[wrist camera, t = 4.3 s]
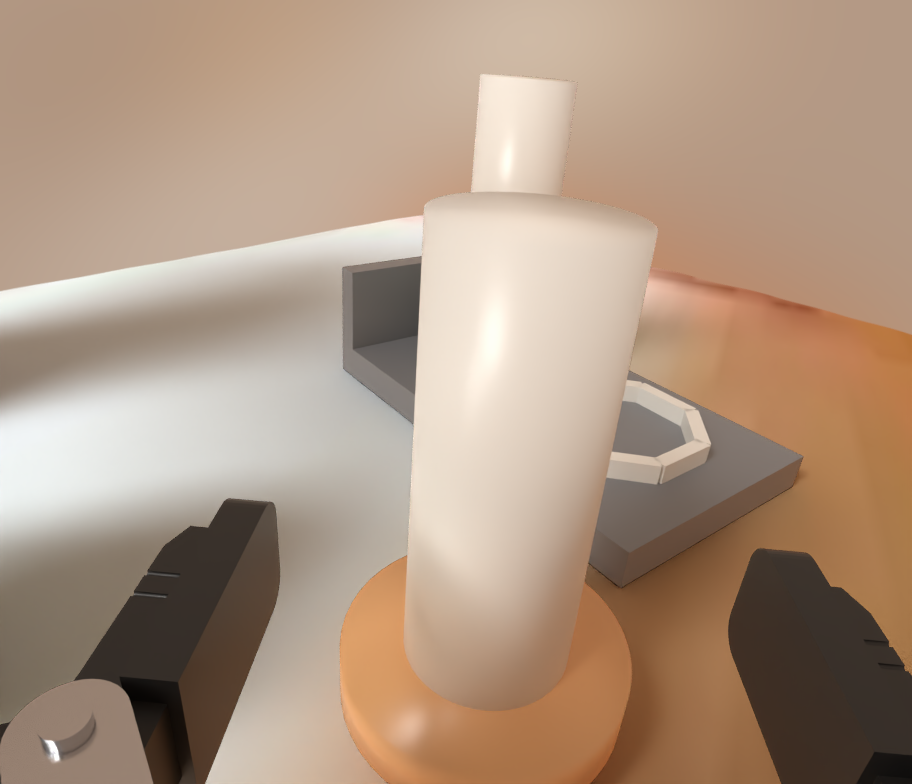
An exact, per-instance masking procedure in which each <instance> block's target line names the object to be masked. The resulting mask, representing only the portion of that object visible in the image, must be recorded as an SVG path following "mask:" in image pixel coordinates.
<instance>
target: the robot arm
mask: <svg viewBox="0 0 912 784" xmlns="http://www.w3.org/2000/svg"><path fill="white" fill-rule="evenodd" d="M279 583H280V563H279V548H278V533H277V519H276V509H275V505H274V504H273V503H272V502H264V501H253V500H242V499H231V498H228V499H226V500H225V501H224V502H223V504H222V505H221V507H220V509H219V510H218V512H217V514H216V515H215V517H214V519H213V520H212V522H211V524H210V525H209V527H208V528H206V527H195V526H190V527H189V528H187V529H186V530H185V531H183V532H182V533H181V534H179V535H178V536H177V537H175V538H174V539H173V540H171V541H170V542H169V543H167V544H166V545H165V546H164V547H163V548H162V550H161V551H160V553H159V554H158V556H157V557H156V559H155V560H154V562H153V563H152V565H151V566H150V568H149V569H148V573H147V576H146V575H144V577H143V578H142V580H141V581H140V583H139V584H138V586H137V587H136V589H135V590H134V595H133V596H130V598H129V599H128V601H127V602H126V604H125V605H124V607H123V608H122V610H121V611H120V613H119V614H118V616H117V617H116V619H115V620H114V622H113V623H112V625H111V626H110V628H109V629H108V631H107V632H106V634H105V635H104V637H103V638H102V640H101V641H100V643H99V645H98V646H97V648H96V649H95V651H94V652H93V654H92V655H91V657H90V658H89V660H88V661H87V663H86V664H85V666H84V667H83V669H82V670H81V672H80V673H79V675H78V676H77V677H76V678H75V680H74V681H72V682H69V683H66V684H62V685H60V686H57V687H55V688H53V689H51V690H49V691H47V692H45V693H43V694H42V695H40V696H38V697H37V698H35V699H34V700H33V701H31V702H30V703H29V704H27V705H26V706H25V707H24V708H23V709H22V710H21V711H20V712H19V713H18V714H17V715H16V716H15V717H14V719H13V720H12V721H11V722H9V723H5V724H1V725H0V784H205V782H206V780H207V777H208V775H209V772H210V769H211V767H212V764H213V762H214V759H215V757H216V754H217V752H218V749H219V747H220V744H221V742H222V739H223V737H224V734H225V732H226V729H227V727H228V724H229V721H230V719H231V716H232V714H233V711H234V709H235V706H236V704H237V701H238V699H239V696H240V694H241V691H242V689H243V686H244V684H245V681H246V679H247V676H248V673H249V671H250V668H251V666H252V663H253V661H254V658H255V656H256V653H257V651H258V648H259V646H260V643H261V641H262V638H263V636H264V633H265V631H266V628H267V625H268V623H269V620H270V618H271V615H272V613H273V610H274V607H275V604H276V600H277V596H278V590H279ZM728 636H729V645H730V650H731V653H732V656H733V659H734V662H735V664H736V667H737V669H738V672H739V675H740V677H741V680H742V682H743V685H744V688H745V690H746V693H747V695H748V698H749V701H750V703H751V706H752V708H753V711H754V714H755V716H756V719H757V721H758V724H759V727H760V729H761V732H762V734H763V737H764V739H765V742H766V745H767V747H768V750H769V752H770V755H771V758H772V760H773V763H774V765H775V768H776V771H777V773H778V776H779V778H780V781H781V784H912V676H911V674H910V673H909V672H908V671H905V669H904V666H905V665H904V664H903V662H902V661H901V659H900V658H899V656H898V655H897V653H896V652H895V650H894V648H893V647H889V641H888V639H887V638H886V636H885V635H884V633H883V632H882V630H881V629H880V627H879V626H878V624H877V623H876V621H875V620H874V618H873V616H872V615H871V613H869V612H868V611H867V610H866V609H865V608H864V607H863V606H862V605H860V604H859V603H858V602H857V601H856V600H855V599H854V598H852V597H851V596H850V595H849V594H848V593H847V592H846V591H845V590H843V589H842V588H839V587H831V586H830V585H829V583H828V582H827V580H826V578H825V577H824V575H823V573H822V572H821V570H820V569H819V567H818V565H817V564H816V562H815V560H814V559H813V558H812V557H811V556H810V555H809V554H807V553H804V552H794V551H783V550H772V549H757V550H756V551H755V552H754V553H753V555H752V557H751V559H750V562H749V564H748V567H747V570H746V573H745V575H744V578H743V581H742V584H741V587H740V589H739V592H738V595H737V598H736V601H735V603H734V606H733V609H732V612H731V615H730V619H729V627H728Z"/></svg>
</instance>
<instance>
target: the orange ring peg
mask: <svg viewBox="0 0 912 784" xmlns="http://www.w3.org/2000/svg"><path fill="white" fill-rule="evenodd" d="M657 234H658V228H657V227H656V225H655V224H654V223H652V222H651V221H650V220H648V219H646V218H644V217H642V216H640V215H638V214H635V213H633V212H630V211H627V210H624V209H620V208H617V207H614V206H610V205H606V204H601V203H597V202H592V201H587V200H581V199H576V198H570V197H562V196H555V195H546V194H536V193H522V192H469V193H458V194H452V195H446V196H442V197H439V198H435V199H433V200H431V201H429V202H428V203H427V204H426V205H425V207H424V222H423V242H422V263H421V284H420V305H419V325H418V346H417V367H416V387H415V408H414V429H413V449H412V470H411V491H410V511H409V532H408V553H407V556H405V557H403V558H401V559H399V560H397V561H395V562H393V563H391V564H390V565H388V566H387V567H385V568H384V569H382V570H381V571H380V572H378V573H377V574H376V575H375V576H374V577H372V578H371V579H370V580H369V581H368V582H367V583H366V584H365V586H364V587H363V588H362V589H361V590H360V591H359V593H358V594H357V596H356V597H355V599H354V600H353V602H352V604H351V606H350V608H349V610H348V612H347V614H346V616H345V620H344V623H343V627H342V631H341V639H340V691H341V705H342V710H343V715H344V719H345V722H346V724H347V727H348V730H349V733H350V735H351V737H352V739H353V741H354V743H355V744H356V746H357V748H358V750H359V751H360V753H361V754H362V755H363V757H364V758H365V760H366V761H367V762H368V764H369V765H370V766H371V767H372V768H373V769H374V770H375V771H376V772H377V773H378V774H379V775H380V776H381V777H382V778H383V779H384V780H385V781H386V782H387V783H389V784H590V783H591V782H592V781H593V780H594V779H595V778H596V777H597V775H598V774H599V773H600V771H601V770H602V769H603V767H604V766H605V765H606V763H607V761H608V759H609V757H610V755H611V753H612V751H613V749H614V746H615V743H616V740H617V737H618V734H619V730H620V727H621V723H622V720H623V716H624V713H625V709H626V705H627V702H628V698H629V695H630V689H631V682H632V661H631V656H630V651H629V646H628V643H627V641H626V638H625V635H624V632H623V630H622V628H621V626H620V624H619V622H618V621H617V619H616V617H615V616H614V614H613V613H612V611H611V610H610V608H609V607H608V605H607V604H606V603H605V602H604V601H603V600H602V599H601V597H600V596H599V595H598V594H597V593H596V592H595V591H594V590H593V589H592V588H590V587H589V586H588V585H587V584H586V583H585V582H584V581H585V576H586V571H587V567H588V562H589V557H590V552H591V548H592V543H593V538H594V533H595V529H596V524H597V519H598V514H599V510H600V505H601V500H602V495H603V491H604V486H605V481H606V476H607V472H608V467H609V462H610V457H611V453H612V448H613V443H614V438H615V434H616V429H617V424H618V419H619V415H620V410H621V405H622V400H623V396H624V391H625V386H626V381H627V377H628V372H629V367H630V362H631V358H632V353H633V348H634V343H635V339H636V334H637V329H638V324H639V320H640V315H641V310H642V306H643V301H644V296H645V291H646V287H647V282H648V277H649V272H650V268H651V263H652V258H653V253H654V249H655V244H656V239H657Z"/></svg>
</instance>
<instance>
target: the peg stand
mask: <svg viewBox="0 0 912 784" xmlns="http://www.w3.org/2000/svg"><path fill="white" fill-rule="evenodd" d="M479 87H480V88H479V99H478V111H477V124H476V137H475V149H474V150H475V151H474V162H473V175H472V187H471V192H522V193H536V194H546V195H555V196H562V189H563V182H564V175H565V167H566V161H567V154H568V147H569V139H570V133H571V125H572V118H573V111H574V104H575V96H576V90H577V82H574V81H568V80H559V79H549V78H539V77H527V76H513V75H497V74H481V75H480V86H479ZM421 263H422V256H420V257H413V258H406V259H398V260H391V261H384V262H376V263H369V264H362V265H354V266H347V267H342V276H343V369H345V370H346V371H347V372H348V373H350V374H351V375H352V376H353V377H355V378H356V379H357V380H358V381H360V382H361V383H362V384H363V385H365V386H366V387H367V388H368V389H370V390H371V391H372V392H374V393H375V394H376V395H377V396H379V397H380V398H381V399H382V400H384V401H385V402H386V403H387V404H389V405H390V406H391V407H392V408H394V409H395V410H396V411H398V412H399V413H400V414H401V415H403V416H404V417H405V418H406V419H408V420H409V421H410V422H411V423H413V424H414V408H415V387H416V367H417V346H418V325H419V305H420V284H421ZM802 459H803V456H802V455H800V454H797V453H795V452H793V451H791V450H789V449H787V448H785V447H783V446H781V445H779V444H777V443H775V442H773V441H771V440H769V439H767V438H765V437H763V436H761V435H759V434H757V433H755V432H753V431H751V430H749V429H747V428H745V427H743V426H741V425H739V424H737V423H735V422H733V421H731V420H729V419H727V418H725V417H722V416H720V415H718V414H716V413H714V412H712V411H710V410H708V409H706V408H704V407H702V406H700V405H698V404H696V403H694V402H692V401H690V400H688V399H686V398H684V397H682V396H680V395H678V394H676V393H674V392H672V391H670V390H668V389H666V388H664V387H662V386H660V385H658V384H656V383H654V382H652V381H649V380H647V379H645V378H643V377H641V376H639V375H637V374H635V373H633V372H631V371H629V372H628V377H627V381H626V386H625V391H624V396H623V400H622V405H621V410H620V415H619V419H618V424H617V429H616V434H615V438H614V443H613V448H612V453H611V457H610V462H609V467H608V472H607V476H606V481H605V486H604V491H603V495H602V500H601V505H600V510H599V514H598V519H597V524H596V529H595V533H594V538H593V543H592V548H591V552H590V557H589V562H588V563H589V564H591V565H592V566H593V567H595V568H596V569H597V570H598V571H600V572H601V573H602V574H603V575H605V576H606V577H607V578H608V579H610V580H611V581H612V582H613V583H615V584H616V585H617V586H619V587H620V588H622V587H623V586H625V585H627V584H628V583H630V582H632V581H633V580H635V579H637V578H638V577H640V576H642V575H644V574H645V573H647V572H649V571H650V570H652V569H654V568H655V567H657V566H659V565H660V564H662V563H664V562H665V561H667V560H669V559H671V558H672V557H674V556H676V555H677V554H679V553H681V552H682V551H684V550H686V549H687V548H689V547H691V546H692V545H694V544H696V543H698V542H699V541H701V540H703V539H704V538H706V537H708V536H709V535H711V534H713V533H714V532H716V531H718V530H720V529H721V528H723V527H725V526H726V525H728V524H730V523H731V522H733V521H735V520H736V519H738V518H740V517H741V516H743V515H745V514H747V513H748V512H750V511H752V510H753V509H755V508H757V507H758V506H760V505H762V504H763V503H765V502H767V501H768V500H770V499H772V498H774V497H775V496H777V495H779V494H780V493H782V492H784V491H785V490H787V489H789V488H790V487H792V486H793V483H794V481H795V478H796V475H797V473H798V470H799V467H800V464H801V462H802Z"/></svg>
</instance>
